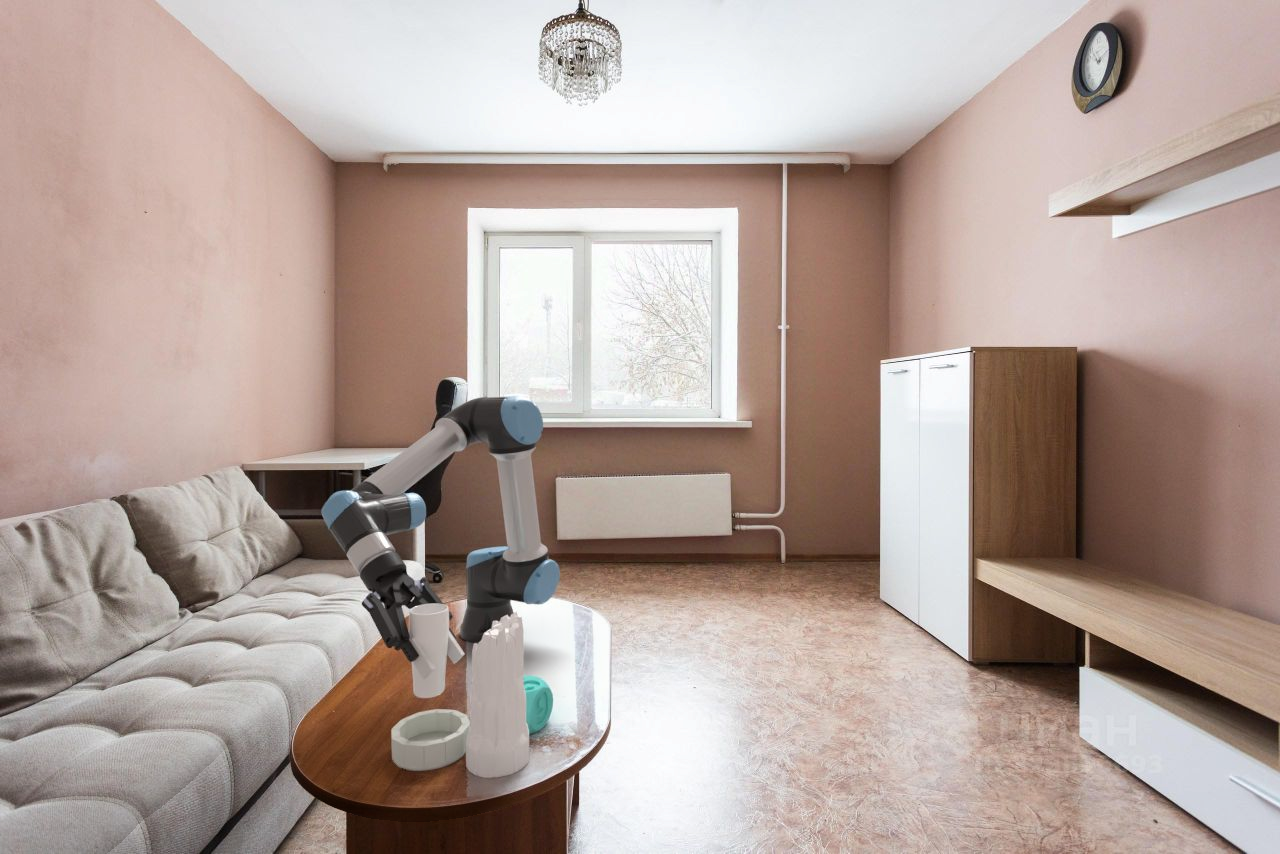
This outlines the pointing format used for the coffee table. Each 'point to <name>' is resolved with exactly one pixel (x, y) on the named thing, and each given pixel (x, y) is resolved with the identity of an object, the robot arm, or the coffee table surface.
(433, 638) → the drinking glass
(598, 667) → the coffee table surface
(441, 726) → the dish
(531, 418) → the robot arm
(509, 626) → the decorative vase
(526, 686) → the decorative dice
